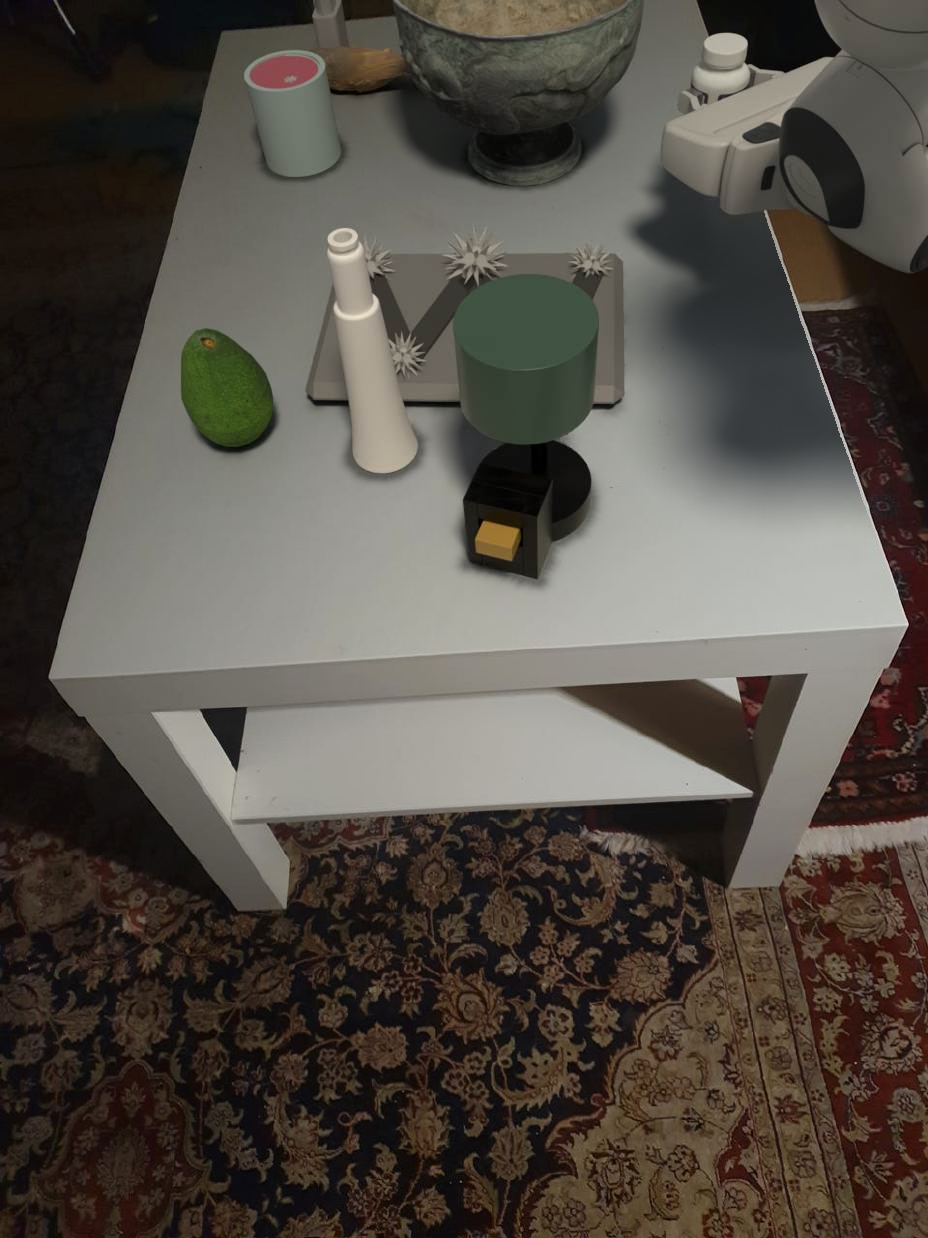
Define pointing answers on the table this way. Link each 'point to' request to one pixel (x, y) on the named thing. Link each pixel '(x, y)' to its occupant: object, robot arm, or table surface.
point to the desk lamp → (527, 409)
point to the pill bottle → (721, 68)
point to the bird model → (360, 67)
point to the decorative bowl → (518, 73)
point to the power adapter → (330, 24)
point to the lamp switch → (498, 540)
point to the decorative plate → (429, 296)
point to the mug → (293, 112)
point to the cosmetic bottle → (367, 362)
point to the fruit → (224, 389)
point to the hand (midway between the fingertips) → (712, 85)
